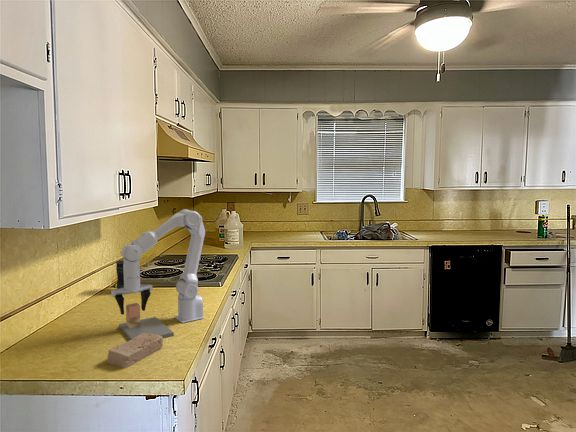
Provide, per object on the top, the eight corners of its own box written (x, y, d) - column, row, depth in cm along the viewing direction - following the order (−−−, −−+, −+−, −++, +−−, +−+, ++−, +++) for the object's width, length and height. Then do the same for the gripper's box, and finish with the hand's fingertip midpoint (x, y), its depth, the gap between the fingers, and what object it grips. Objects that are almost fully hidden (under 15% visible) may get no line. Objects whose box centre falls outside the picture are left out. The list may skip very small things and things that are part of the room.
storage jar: (141, 291, 206) (140, 261, 204) (121, 295, 199) (120, 264, 198) (133, 287, 213) (132, 258, 212) (113, 290, 206) (112, 261, 205)
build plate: (155, 319, 166) (155, 316, 166) (173, 335, 150) (173, 332, 150) (119, 327, 158) (118, 324, 158) (134, 344, 142) (133, 341, 142)
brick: (126, 369, 125) (125, 354, 124) (106, 363, 128) (105, 349, 128) (164, 349, 140) (163, 335, 139) (145, 344, 143) (144, 331, 143)
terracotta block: (137, 313, 159) (136, 303, 158) (140, 316, 155) (139, 305, 155) (126, 315, 156) (126, 304, 156) (129, 318, 153) (128, 307, 153)
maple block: (137, 323, 159) (137, 313, 159) (140, 326, 156) (140, 315, 155) (126, 325, 157) (126, 315, 156) (129, 328, 154) (129, 318, 153)
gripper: (114, 281, 147) (115, 318, 148) (154, 275, 155) (155, 311, 157) (109, 277, 153) (110, 313, 154) (148, 272, 161) (149, 306, 162)
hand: (133, 311), depth 156 cm, fingers open, 7 cm apart
